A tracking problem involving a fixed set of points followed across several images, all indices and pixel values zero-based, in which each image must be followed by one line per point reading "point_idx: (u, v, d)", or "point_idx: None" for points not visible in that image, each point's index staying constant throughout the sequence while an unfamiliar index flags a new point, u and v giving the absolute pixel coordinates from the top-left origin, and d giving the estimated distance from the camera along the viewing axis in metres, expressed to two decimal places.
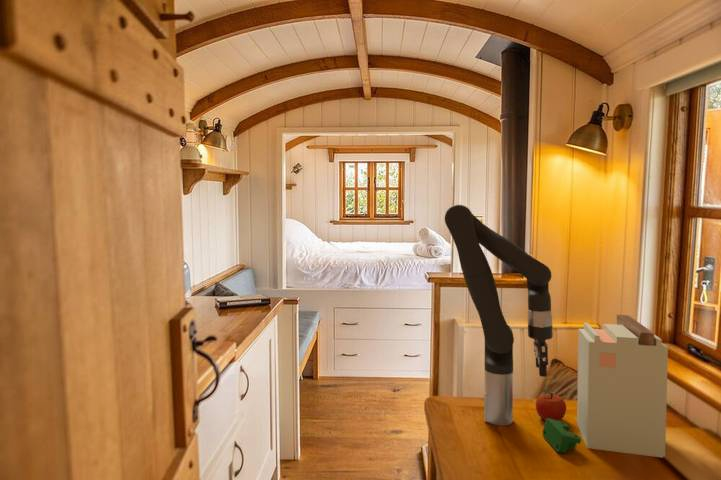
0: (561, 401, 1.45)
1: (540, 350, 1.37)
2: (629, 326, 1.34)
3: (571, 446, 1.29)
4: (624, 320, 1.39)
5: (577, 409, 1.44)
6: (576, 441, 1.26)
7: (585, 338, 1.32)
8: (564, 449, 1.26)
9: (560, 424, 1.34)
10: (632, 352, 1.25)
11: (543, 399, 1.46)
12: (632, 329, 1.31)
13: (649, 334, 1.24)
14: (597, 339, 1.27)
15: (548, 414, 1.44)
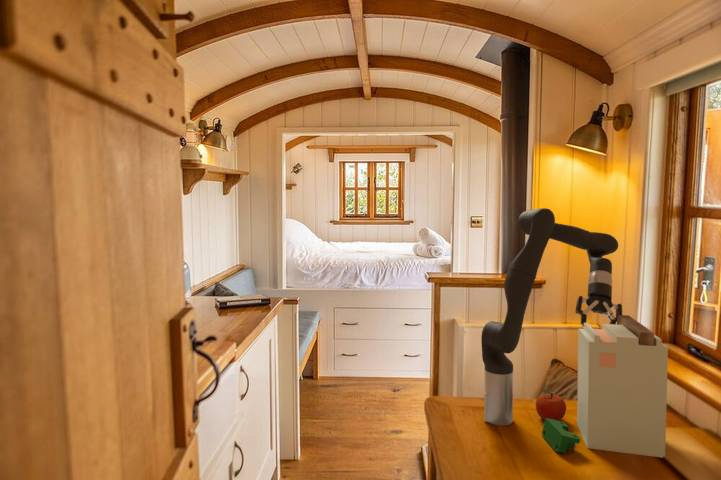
0: (561, 401, 1.45)
1: None
2: (629, 326, 1.34)
3: (571, 446, 1.29)
4: (624, 320, 1.39)
5: (577, 409, 1.44)
6: (575, 441, 1.26)
7: (585, 338, 1.32)
8: (563, 449, 1.26)
9: (559, 424, 1.34)
10: (632, 352, 1.25)
11: (543, 399, 1.46)
12: (632, 329, 1.31)
13: (649, 334, 1.24)
14: (597, 339, 1.27)
15: (548, 414, 1.44)
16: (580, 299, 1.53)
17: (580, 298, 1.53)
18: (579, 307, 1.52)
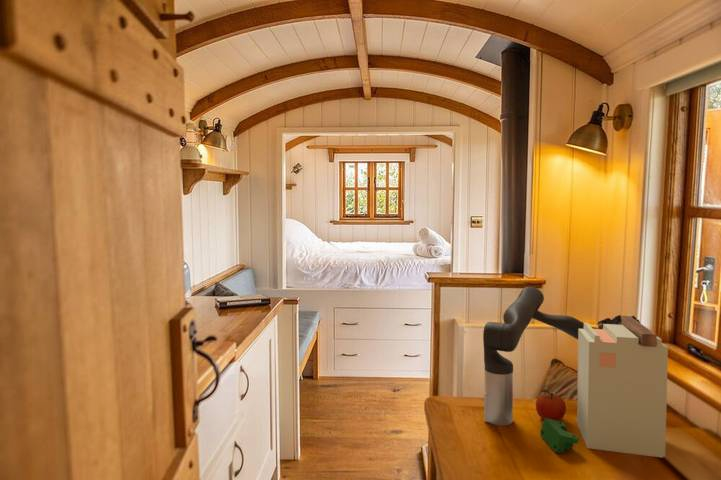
0: (561, 401, 1.45)
1: None
2: (631, 327, 1.33)
3: (569, 446, 1.29)
4: (626, 321, 1.38)
5: (577, 409, 1.44)
6: (574, 441, 1.26)
7: (585, 338, 1.32)
8: (562, 449, 1.26)
9: (557, 424, 1.34)
10: (632, 352, 1.25)
11: (543, 399, 1.46)
12: (634, 330, 1.30)
13: (651, 335, 1.22)
14: (597, 339, 1.27)
15: (548, 414, 1.44)
16: None
17: None
18: None
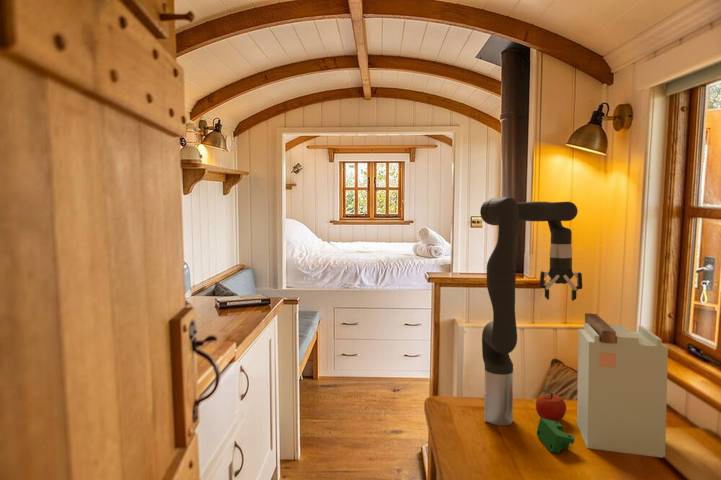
0: (561, 401, 1.45)
1: (581, 276, 1.58)
2: (594, 324, 1.35)
3: (565, 446, 1.29)
4: (590, 319, 1.41)
5: (577, 409, 1.44)
6: (570, 441, 1.26)
7: (585, 338, 1.32)
8: (558, 449, 1.26)
9: (553, 424, 1.34)
10: (632, 352, 1.25)
11: (543, 399, 1.46)
12: (596, 327, 1.33)
13: (611, 332, 1.25)
14: (597, 339, 1.27)
15: (548, 414, 1.44)
16: (542, 275, 1.61)
17: (542, 274, 1.61)
18: (542, 283, 1.61)
